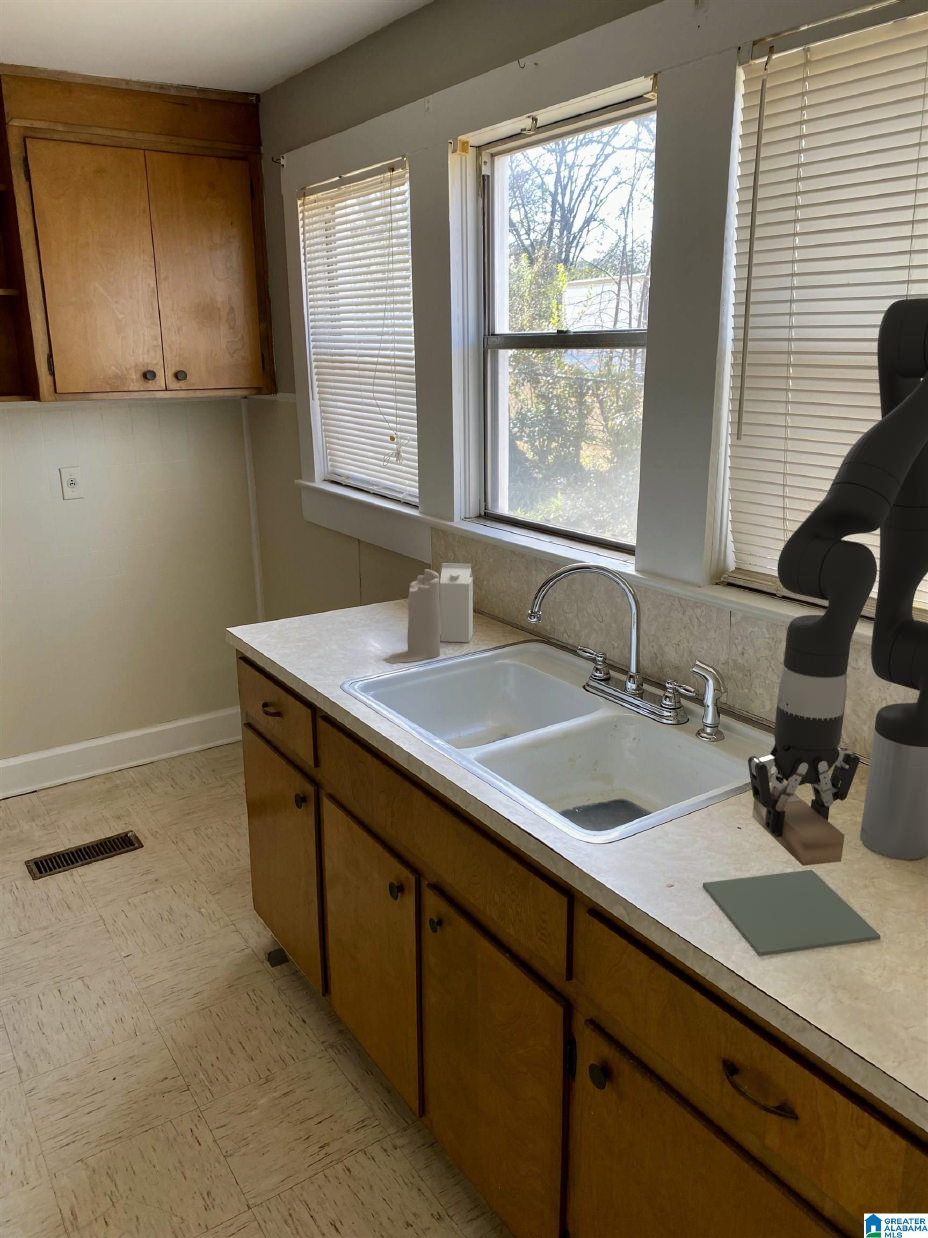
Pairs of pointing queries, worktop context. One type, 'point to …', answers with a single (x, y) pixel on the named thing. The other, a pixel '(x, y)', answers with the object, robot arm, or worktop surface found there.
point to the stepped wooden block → (805, 833)
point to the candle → (422, 620)
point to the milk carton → (456, 602)
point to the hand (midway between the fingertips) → (795, 831)
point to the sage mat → (789, 912)
